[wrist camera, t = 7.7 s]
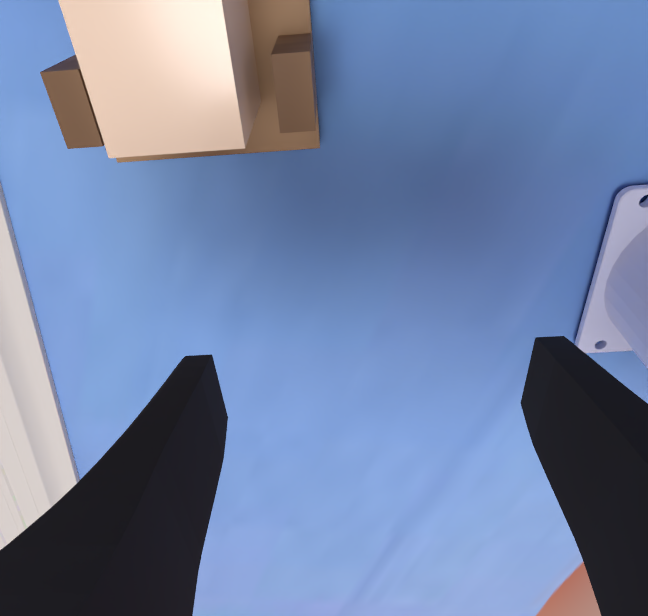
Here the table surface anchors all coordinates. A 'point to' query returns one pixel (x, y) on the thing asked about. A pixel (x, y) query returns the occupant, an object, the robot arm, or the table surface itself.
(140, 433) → the robot arm
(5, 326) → the baseboard molding
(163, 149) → the beige rectangular block
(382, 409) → the table surface
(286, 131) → the rack
